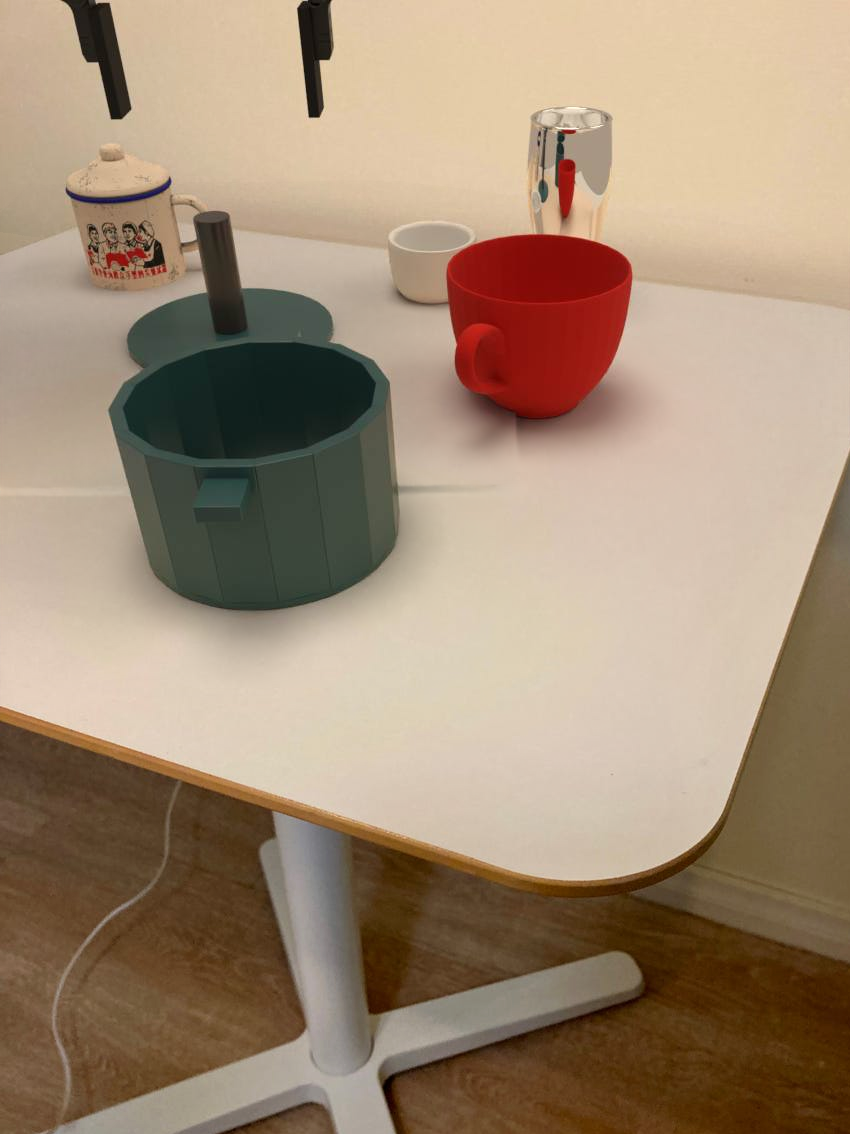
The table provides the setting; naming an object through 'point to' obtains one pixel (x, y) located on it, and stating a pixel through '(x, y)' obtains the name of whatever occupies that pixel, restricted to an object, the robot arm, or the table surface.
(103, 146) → the teacup with lid
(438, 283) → the teacup
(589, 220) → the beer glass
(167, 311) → the lid
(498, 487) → the table surface
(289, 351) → the pot
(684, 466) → the table surface
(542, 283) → the ceramic cup
